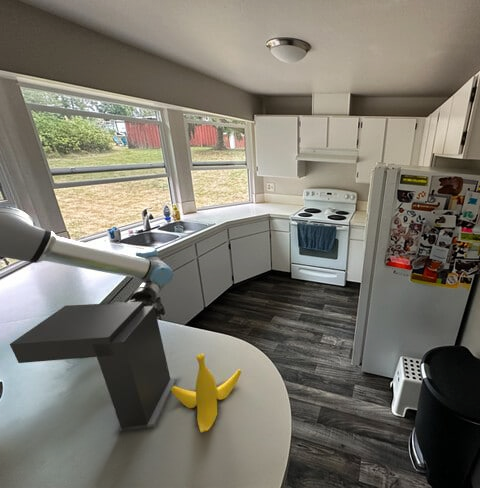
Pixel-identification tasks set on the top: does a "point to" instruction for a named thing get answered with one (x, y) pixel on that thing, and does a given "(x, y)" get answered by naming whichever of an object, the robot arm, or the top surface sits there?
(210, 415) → the banana peel
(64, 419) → the top surface
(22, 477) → the top surface
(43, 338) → the coffee maker
